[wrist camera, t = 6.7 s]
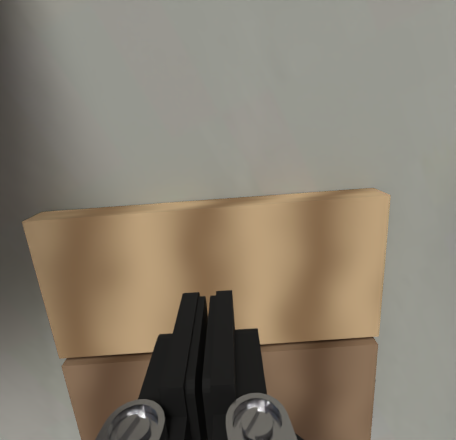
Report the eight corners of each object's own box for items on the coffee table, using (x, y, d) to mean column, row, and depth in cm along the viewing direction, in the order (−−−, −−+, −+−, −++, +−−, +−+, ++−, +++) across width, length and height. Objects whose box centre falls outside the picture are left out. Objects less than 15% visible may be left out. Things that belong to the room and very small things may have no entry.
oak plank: (373, 187, 19) (390, 195, 17) (364, 317, 22) (378, 336, 20) (41, 211, 19) (21, 221, 17) (73, 337, 22) (59, 358, 20)
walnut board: (364, 325, 22) (378, 344, 20) (358, 425, 25) (369, 450, 23) (75, 345, 22) (61, 366, 20) (99, 442, 25) (89, 469, 23)
